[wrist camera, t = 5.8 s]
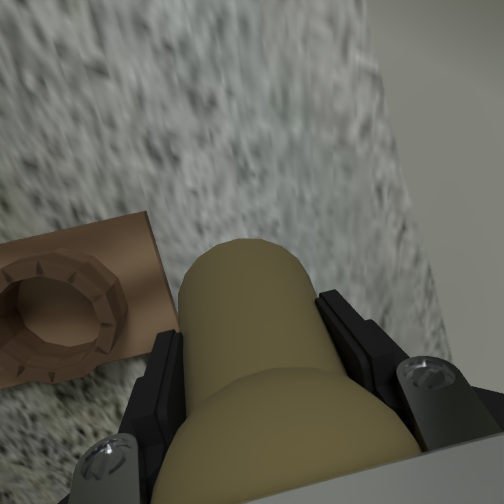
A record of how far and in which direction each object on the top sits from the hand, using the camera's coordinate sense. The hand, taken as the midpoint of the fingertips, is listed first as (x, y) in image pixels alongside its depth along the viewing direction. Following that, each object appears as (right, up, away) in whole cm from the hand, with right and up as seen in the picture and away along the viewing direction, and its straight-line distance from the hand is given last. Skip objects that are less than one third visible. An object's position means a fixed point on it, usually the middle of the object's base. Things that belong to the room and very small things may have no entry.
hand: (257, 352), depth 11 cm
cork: (0, +1, +4) cm, 4 cm away
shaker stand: (-17, -1, +20) cm, 27 cm away
